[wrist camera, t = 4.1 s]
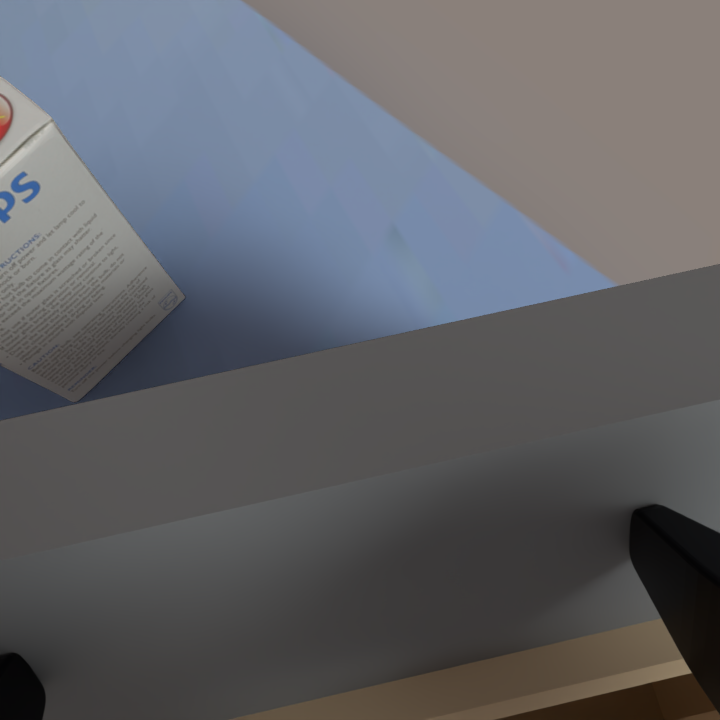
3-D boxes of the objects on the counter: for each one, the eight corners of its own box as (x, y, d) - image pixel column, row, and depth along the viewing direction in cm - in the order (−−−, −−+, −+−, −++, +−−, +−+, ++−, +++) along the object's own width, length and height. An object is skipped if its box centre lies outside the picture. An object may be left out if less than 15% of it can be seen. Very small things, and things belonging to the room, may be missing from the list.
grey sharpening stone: (887, 626, 10) (1067, 367, 7) (-160, 874, 9) (-519, 727, 6) (661, 392, 15) (699, 189, 12) (-2, 540, 15) (-147, 370, 12)
